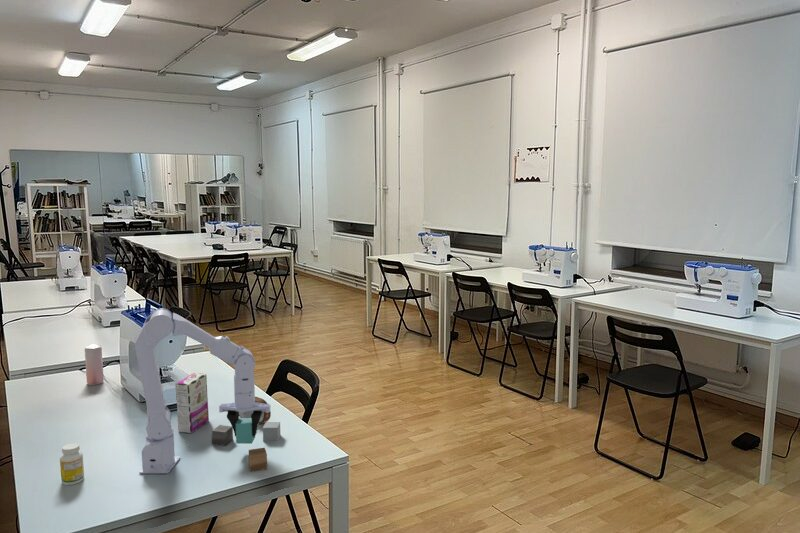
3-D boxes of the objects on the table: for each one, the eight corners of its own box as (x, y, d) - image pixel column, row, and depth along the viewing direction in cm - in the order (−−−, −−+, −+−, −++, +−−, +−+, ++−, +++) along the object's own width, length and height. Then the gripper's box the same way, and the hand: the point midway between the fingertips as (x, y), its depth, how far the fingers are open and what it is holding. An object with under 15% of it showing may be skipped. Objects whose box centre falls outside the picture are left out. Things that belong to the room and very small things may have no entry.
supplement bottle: (80, 484, 156) (78, 450, 155) (58, 486, 155) (55, 451, 154) (87, 474, 161) (84, 441, 160) (65, 476, 160) (63, 442, 159)
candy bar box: (195, 419, 200) (193, 372, 198) (209, 420, 199) (207, 373, 197) (177, 432, 189) (174, 383, 187) (191, 433, 188) (189, 384, 186)
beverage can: (87, 381, 236) (84, 345, 234) (104, 379, 239) (101, 343, 237) (86, 386, 231) (84, 349, 229) (103, 384, 234) (101, 347, 232)
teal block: (251, 443, 173) (251, 423, 172) (236, 443, 173) (235, 423, 172) (255, 437, 177) (254, 417, 176) (240, 437, 177) (239, 417, 176)
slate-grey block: (277, 441, 183) (277, 427, 182) (263, 441, 183) (262, 427, 182) (280, 435, 188) (280, 421, 187) (266, 435, 187) (265, 421, 187)
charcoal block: (225, 446, 179) (224, 432, 179) (212, 444, 181) (211, 430, 180) (233, 440, 184) (232, 426, 183) (220, 438, 185) (219, 424, 184)
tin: (271, 424, 196) (271, 399, 195) (264, 427, 194) (264, 402, 193) (240, 414, 204) (239, 390, 203) (233, 417, 202) (232, 393, 201)
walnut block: (267, 469, 165) (266, 454, 165) (250, 472, 164) (250, 456, 163) (265, 462, 169) (264, 447, 169) (248, 464, 168) (248, 449, 167)
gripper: (215, 395, 169) (217, 440, 171) (266, 395, 169) (267, 440, 171) (222, 386, 176) (224, 430, 178) (271, 387, 176) (272, 430, 178)
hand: (245, 434), depth 175 cm, fingers closed on teal block, 4 cm apart
